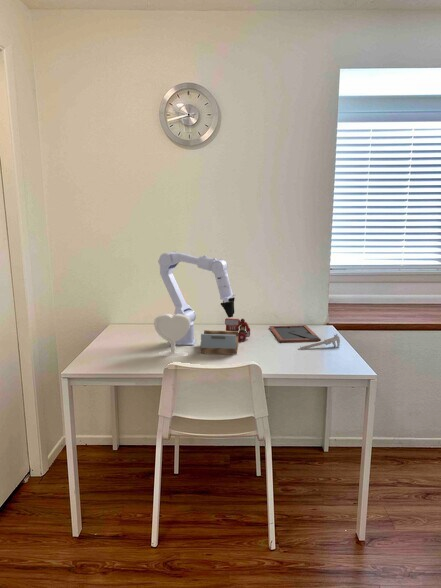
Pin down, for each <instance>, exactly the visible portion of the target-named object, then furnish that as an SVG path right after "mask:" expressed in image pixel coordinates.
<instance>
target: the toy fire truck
mask: <svg viewBox="0 0 441 588" xmlns="http://www.w3.org/2000/svg"><path fill="white" fill-rule="evenodd" d="M224 324H225V331H238V341H239V342H244V341H245V340H246V339H247V338H250V337H251V329H250V326H249V324H248V322H246V321H245V318H241V319H240V318H228V317H227V318H225V319H224Z"/></svg>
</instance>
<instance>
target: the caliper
mask: <svg viewBox="0 0 441 588" xmlns="http://www.w3.org/2000/svg"><path fill="white" fill-rule="evenodd" d="M340 338H341V337H340V336H339V335H338V334H337V333H336V334H333V336H331V337H328V338H324V339H323V340H321V341H319V342H311V343H309V344H308V343H307V344H305V345H302V346H299V347H298V348H297V350H299V351H300V350H306V349H307V350H308V349H312V348H314V347H318V346H322V345H326V346H327V345H330V344H332V346H334V347H335V348H336V347H340V346H341V344H340V343H341V340H340Z"/></svg>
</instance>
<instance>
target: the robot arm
mask: <svg viewBox="0 0 441 588" xmlns="http://www.w3.org/2000/svg"><path fill="white" fill-rule="evenodd" d="M180 262H181V263H188V264H192V265H196V266H197V268H199V269H202V270H204V271H205V270H206V271H209V272H211V273H213V274H214V276H215V280H216V285H217V289H218V293H219V298H220V300H222V302H220V306H221V307H222V308H223V309H224V311H225V313H226V316H227V318H229V319H231V318H233V317H234V314H235V300H236V299H235V296H236V293H233V290H232V285H231V281H230V278H229V274H228V267H229V266H228V263H227V261H226V260H224V259H222V258H220V259H217V258H216V257H209V256H208V255H206V254H205V255H200V256H199V257H197V256H194V255H192V254H188V253H183V252H180V251H174V250H173V251H170V252H164V253H161V254H160V256H159V258H158V265H159V275H160V276H161V277H160V278H161V279H162V281H163V284H164V286H165V287H166V290H167V292H168V295H169V297H170V298H171V301H172V303H173V305H174V308H175V309H174V315H175V314H183V315H186V316H188V317H189V318H190V321H191V324H190V329H189V330H188V332H187V333H186V335H185V336H184V337H183V338H181V339H180V340H178V341H176V342H175V346H176V345H177V346H178V345H179V346H194V345H195V342H196V341H197V339H195V329H194V328H195V327H194V326H195V325H194V321H195V320H196V319H197V313H196V311H195V310H194V309H193V308H192V307H191V305H189V304H188V303H187V302H186V300H185V298H184V296H183V293H182V291H181V289H180V287H179V285H178V282H177V281H176V278H175V276H174V274H173V273H174V270H175V268H176V267H177V266H178V265H179V263H180Z"/></svg>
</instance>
